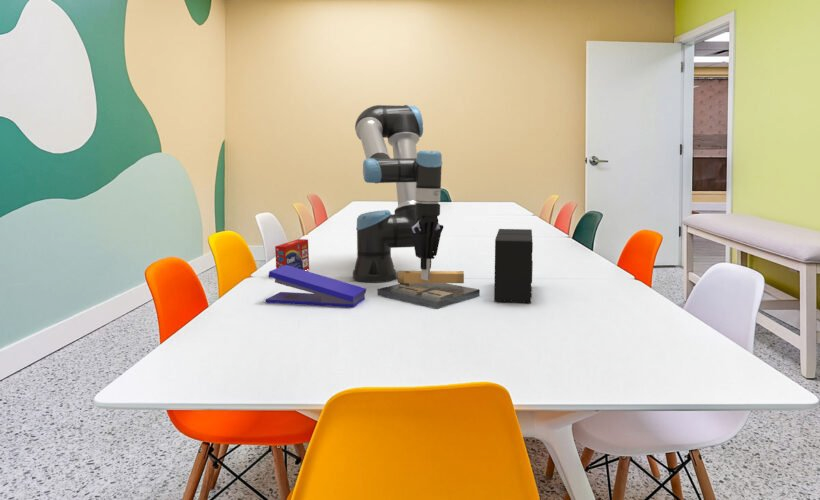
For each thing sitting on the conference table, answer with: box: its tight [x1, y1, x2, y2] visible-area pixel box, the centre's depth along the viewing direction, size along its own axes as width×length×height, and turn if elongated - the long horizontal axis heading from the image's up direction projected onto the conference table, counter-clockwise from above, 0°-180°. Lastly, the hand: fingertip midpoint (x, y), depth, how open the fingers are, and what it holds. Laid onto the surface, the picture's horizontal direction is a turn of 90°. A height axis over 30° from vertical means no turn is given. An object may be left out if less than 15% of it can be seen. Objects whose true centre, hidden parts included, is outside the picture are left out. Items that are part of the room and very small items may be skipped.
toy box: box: [274, 238, 310, 271], centre depth 212 cm, size 18×4×12 cm, turn 164°
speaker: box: [493, 228, 534, 304], centre depth 180 cm, size 25×11×19 cm, turn 169°
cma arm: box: [397, 270, 465, 284], centre depth 183 cm, size 20×4×3 cm, turn 86°
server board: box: [376, 283, 481, 310], centre depth 178 cm, size 24×20×3 cm
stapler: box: [265, 265, 367, 308], centre depth 173 cm, size 12×28×10 cm, turn 76°
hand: (425, 279), depth 179 cm, fingers closed
